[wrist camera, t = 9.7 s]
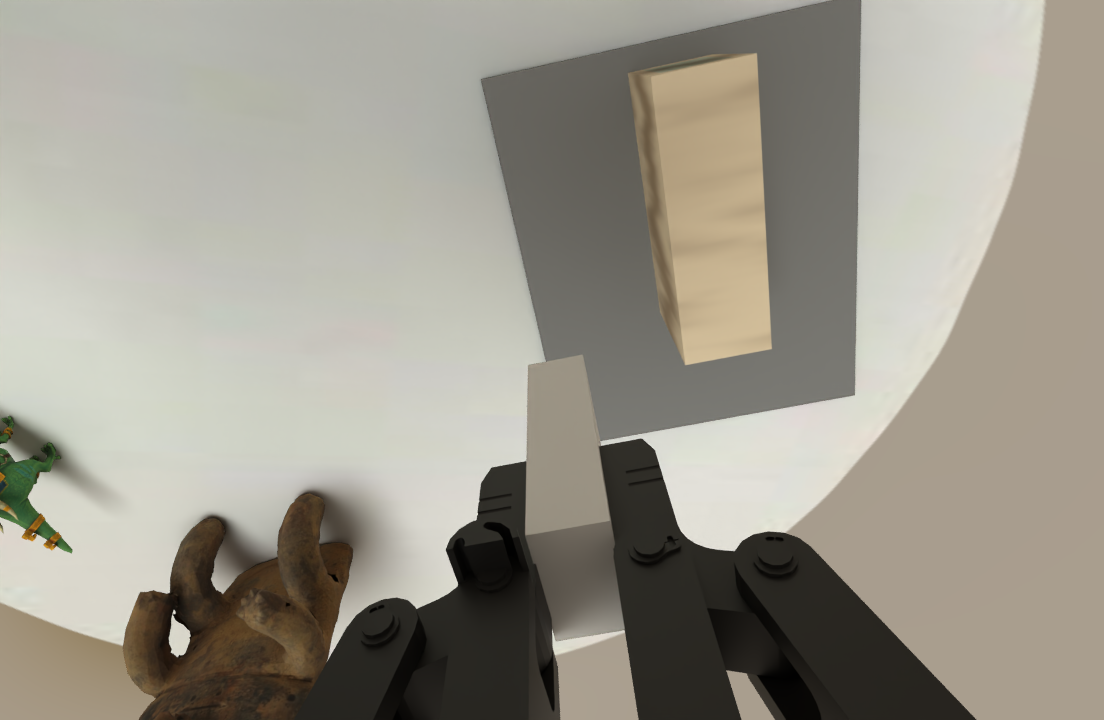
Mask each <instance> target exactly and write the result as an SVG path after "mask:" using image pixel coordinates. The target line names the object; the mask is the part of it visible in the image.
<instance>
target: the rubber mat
mask: <svg viewBox="0 0 1104 720" xmlns="http://www.w3.org/2000/svg"><path fill="white" fill-rule="evenodd" d="M860 34H861V0H833V1H828V2H824V3H819V4H815V5H810V6H806V7H801V8H797V9H793V10H788V11H784V12H779V13H775V14H770V15H766V16H761V17H757V18H752V19H748V20H744V21H739V22H735V23H730V24H726V25H721V26H717V27H712V28H708V29H704V30H699V31H695V32H690V33H686V34H681V35H677V36H672V37H668V38H664V39H659V40H655V41H650V42H646V43H641V44H637V45H632V46H628V47H624V48H619V49H615V50H610V51H606V52H601V53H597V54H592V55H588V56H583V57H579V58H575V59H570V60H566V61H561V62H557V63H552V64H548V65H543V66H539V67H535V68H530V69H526V70H521V71H517V72H512V73H508V74H503V75H499V76H495V77H490V78H486V79H481V82H482V86H483V91H484V95H485V99H486V104H487V108H488V112H489V117H490V121H491V125H492V130H493V134H494V138H495V143H496V147H497V151H498V156H499V160H500V164H501V169H502V173H503V177H504V182H505V186H506V190H507V195H508V199H509V203H510V208H511V212H512V216H513V221H514V225H515V229H516V234H517V238H518V242H519V247H520V251H521V255H522V260H523V264H524V268H525V273H526V277H527V281H528V286H529V290H530V294H531V299H532V303H533V307H534V312H535V316H536V320H537V325H538V329H539V333H540V338H541V342H542V346H543V351H544V355H545V359H546V362H547V361H552V360H557V359H562V358H568V357H573V356H578V355H583V358H584V363H585V368H586V373H587V378H588V383H589V388H590V393H591V398H592V403H593V408H594V413H595V418H596V423H597V428H598V432H599V437H600V441H603V440H609V439H614V438H620V437H625V436H631V435H637V434H642V433H648V432H653V431H659V430H664V429H670V428H675V427H681V426H687V425H692V424H698V423H703V422H709V421H714V420H720V419H725V418H731V417H736V416H742V415H748V414H753V413H759V412H764V411H770V410H775V409H781V408H786V407H792V406H797V405H803V404H809V403H814V402H820V401H825V400H831V399H836V398H842V397H847V396H853V395H855V344H856V282H857V220H858V158H859V96H860ZM750 53H757V64H758V84H759V104H760V124H761V144H762V164H763V184H764V204H765V224H766V244H767V264H768V284H769V304H770V324H771V344H772V349H769V350H764V351H759V352H753V353H748V354H743V355H737V356H732V357H727V358H721V359H716V360H711V361H705V362H700V363H695V364H689V365H685V364H684V361H683V359H682V357H681V355H680V353H679V351H678V349H677V347H676V345H675V343H674V341H673V338H672V336H671V334H670V332H669V330H668V328H667V326H666V324H665V322H664V320H663V317H662V315H661V313H660V308H659V301H658V294H657V286H656V279H655V271H654V264H653V256H652V249H651V242H650V234H649V227H648V219H647V212H646V204H645V197H644V189H643V182H642V175H641V167H640V160H639V152H638V145H637V137H636V130H635V123H634V115H633V108H632V100H631V93H630V85H629V78H628V73H630V72H635V71H639V70H644V69H648V68H653V67H657V66H662V65H666V64H671V63H675V62H680V61H684V60H689V59H693V58H698V57H702V56H707V55H711V54H750Z"/></svg>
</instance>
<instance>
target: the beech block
mask: <svg viewBox="0 0 1104 720" xmlns="http://www.w3.org/2000/svg"><path fill="white" fill-rule="evenodd" d="M628 78H629V85H630V93H631V100H632V108H633V115H634V123H635V130H636V137H637V145H638V152H639V160H640V167H641V175H642V182H643V189H644V197H645V204H646V212H647V219H648V227H649V234H650V242H651V249H652V256H653V264H654V271H655V279H656V286H657V294H658V301H659V308H660V313H661V315H662V317H663V320H664V322H665V324H666V326H667V328H668V330H669V332H670V334H671V336H672V338H673V341H674V343H675V345H676V347H677V349H678V351H679V353H680V355H681V357H682V359H683V361H684V364H685V365H689V364H695V363H700V362H705V361H711V360H716V359H721V358H727V357H732V356H737V355H743V354H748V353H753V352H759V351H764V350H769V349H772V344H771V324H770V304H769V284H768V264H767V244H766V224H765V204H764V184H763V164H762V144H761V124H760V104H759V84H758V64H757V53H750V54H711V55H707V56H702V57H698V58H693V59H689V60H684V61H680V62H675V63H671V64H666V65H662V66H657V67H653V68H648V69H644V70H639V71H635V72H630V73H628Z"/></svg>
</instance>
